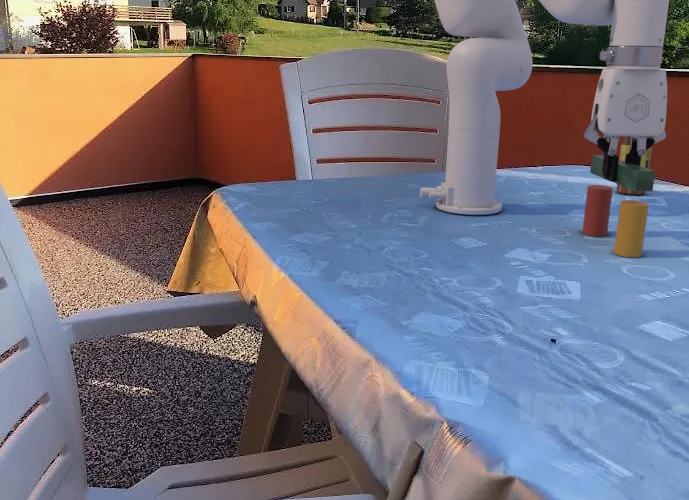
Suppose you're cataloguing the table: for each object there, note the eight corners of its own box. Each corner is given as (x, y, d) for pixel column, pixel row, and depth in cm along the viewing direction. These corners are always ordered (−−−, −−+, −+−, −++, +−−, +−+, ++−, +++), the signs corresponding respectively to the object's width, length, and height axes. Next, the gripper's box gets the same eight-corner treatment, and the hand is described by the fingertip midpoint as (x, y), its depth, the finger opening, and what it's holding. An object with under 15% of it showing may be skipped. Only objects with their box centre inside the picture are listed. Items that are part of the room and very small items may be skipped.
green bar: (652, 191, 104) (655, 171, 103) (635, 191, 104) (638, 171, 103) (604, 172, 120) (606, 155, 119) (590, 172, 119) (591, 155, 119)
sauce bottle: (648, 196, 151) (661, 102, 146) (617, 195, 153) (629, 101, 147) (642, 190, 158) (654, 99, 152) (612, 189, 159) (624, 99, 153)
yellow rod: (621, 257, 107) (628, 205, 105) (609, 250, 111) (615, 200, 109) (646, 257, 107) (653, 205, 105) (633, 250, 111) (640, 200, 109)
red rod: (588, 236, 118) (593, 189, 116) (578, 230, 122) (583, 184, 120) (611, 236, 119) (617, 189, 117) (600, 230, 123) (606, 185, 120)
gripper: (592, 59, 102) (579, 184, 107) (699, 60, 104) (681, 184, 109) (572, 58, 110) (560, 176, 115) (672, 59, 111) (656, 176, 116)
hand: (619, 179), depth 112 cm, fingers closed on green bar, 2 cm apart
